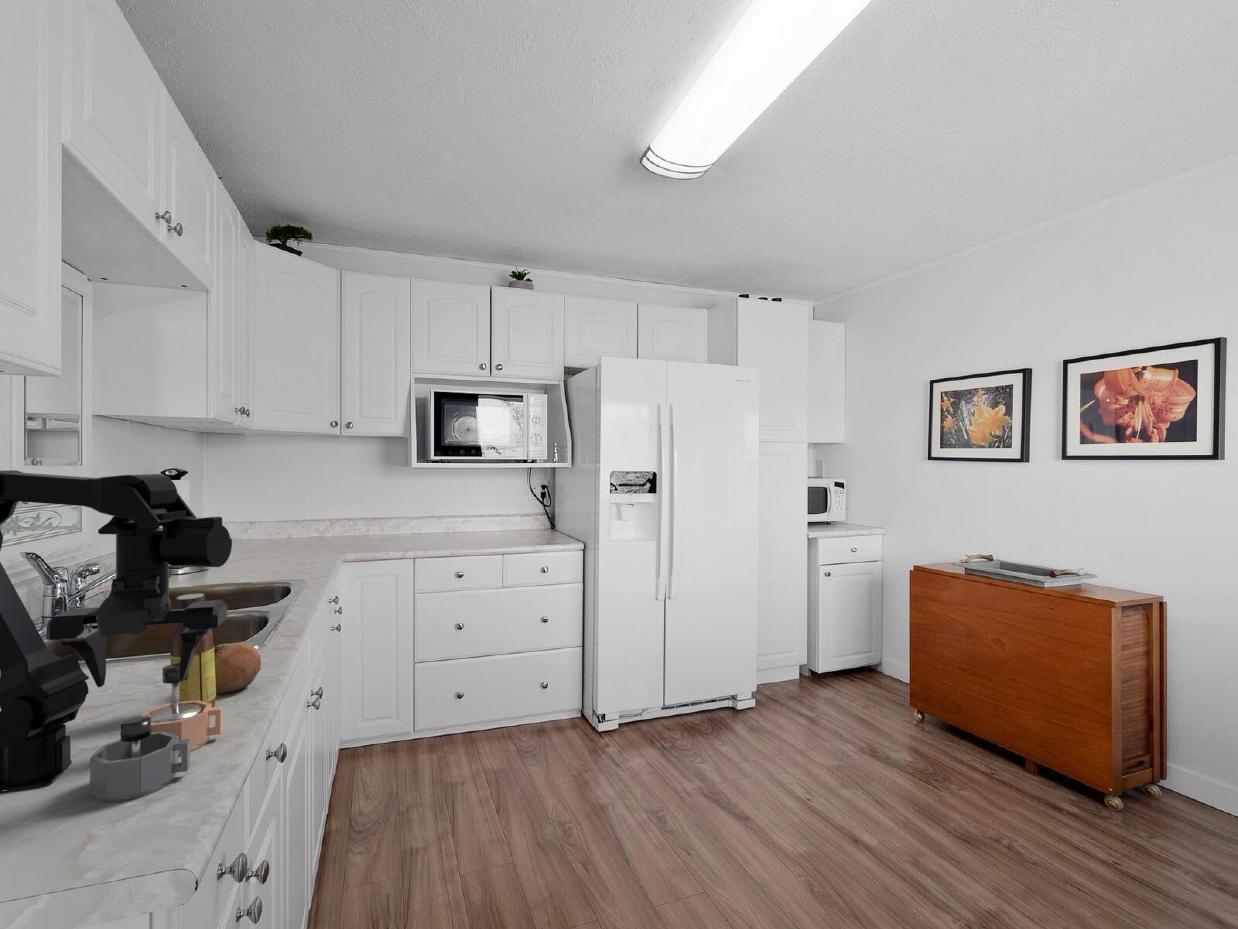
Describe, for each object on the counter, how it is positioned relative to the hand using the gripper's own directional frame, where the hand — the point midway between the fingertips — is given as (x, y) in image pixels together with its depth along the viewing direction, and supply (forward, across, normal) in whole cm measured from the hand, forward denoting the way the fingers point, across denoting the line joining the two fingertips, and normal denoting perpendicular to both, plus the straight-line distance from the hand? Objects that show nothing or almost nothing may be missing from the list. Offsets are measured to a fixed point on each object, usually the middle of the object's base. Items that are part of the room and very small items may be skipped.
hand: (142, 682), depth 84 cm
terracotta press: (+13, +1, +10) cm, 16 cm away
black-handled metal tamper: (+9, +1, +10) cm, 13 cm away
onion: (+13, +4, +33) cm, 36 cm away
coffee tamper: (+12, 0, -2) cm, 12 cm away
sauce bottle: (+13, 0, +24) cm, 27 cm away
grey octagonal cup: (+13, 0, -2) cm, 13 cm away
